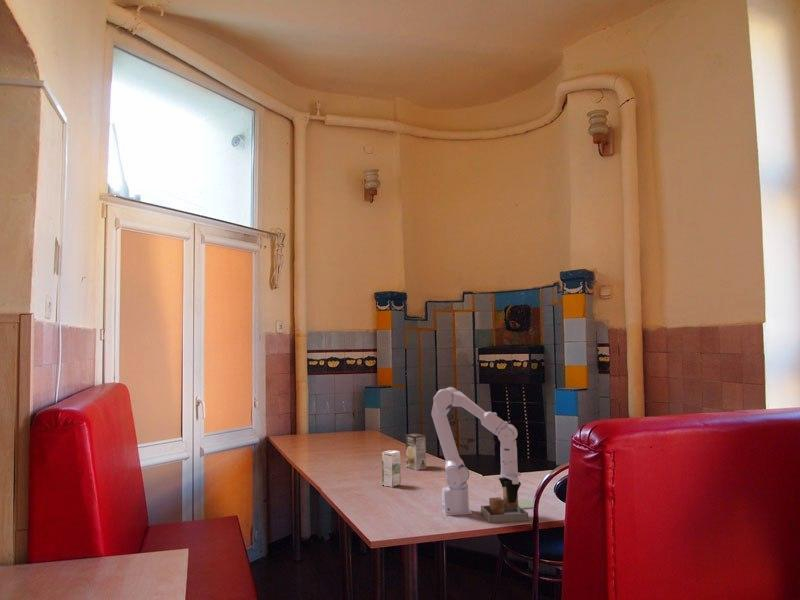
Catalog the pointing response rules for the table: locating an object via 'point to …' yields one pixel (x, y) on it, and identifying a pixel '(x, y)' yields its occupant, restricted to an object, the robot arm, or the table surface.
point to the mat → (525, 504)
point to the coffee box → (415, 451)
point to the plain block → (496, 506)
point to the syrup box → (391, 468)
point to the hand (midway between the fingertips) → (510, 500)
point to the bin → (505, 514)
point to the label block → (506, 501)
